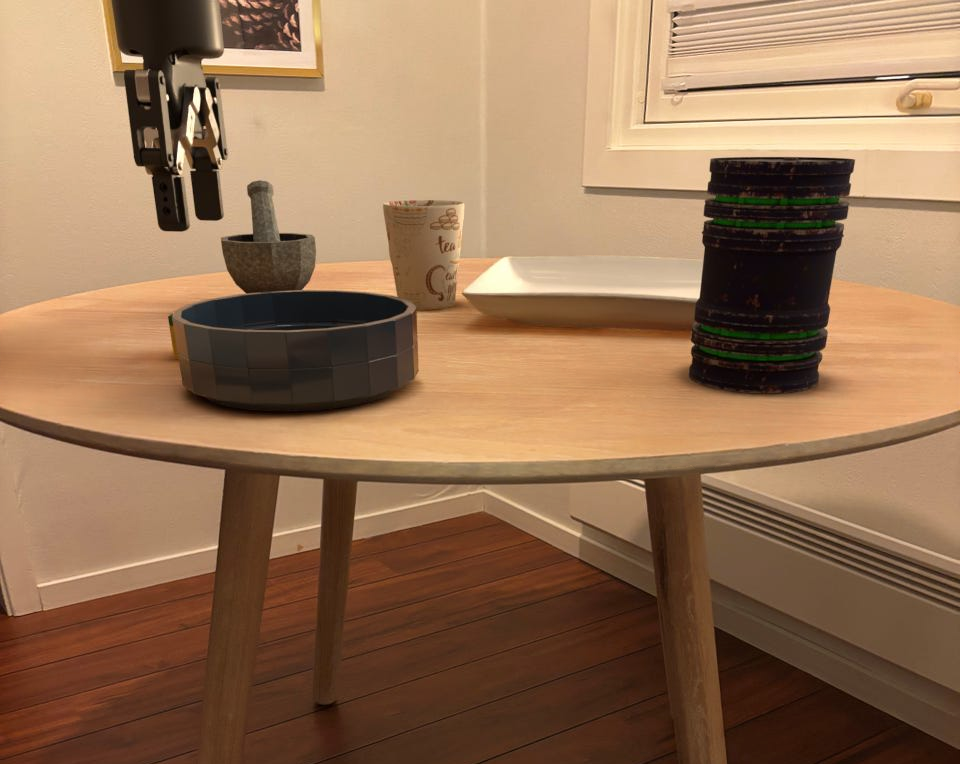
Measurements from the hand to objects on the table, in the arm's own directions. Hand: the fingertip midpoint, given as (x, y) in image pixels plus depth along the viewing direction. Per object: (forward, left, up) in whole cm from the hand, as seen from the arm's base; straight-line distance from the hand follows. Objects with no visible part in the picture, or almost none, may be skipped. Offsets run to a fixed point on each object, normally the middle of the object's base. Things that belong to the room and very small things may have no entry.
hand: (193, 225), depth 75 cm
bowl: (+10, -10, -10) cm, 17 cm away
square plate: (+35, +23, -10) cm, 43 cm away
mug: (+14, +27, -10) cm, 32 cm away
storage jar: (+44, -6, -10) cm, 46 cm away
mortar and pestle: (-1, +24, -10) cm, 26 cm away
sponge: (+1, 0, -10) cm, 10 cm away
